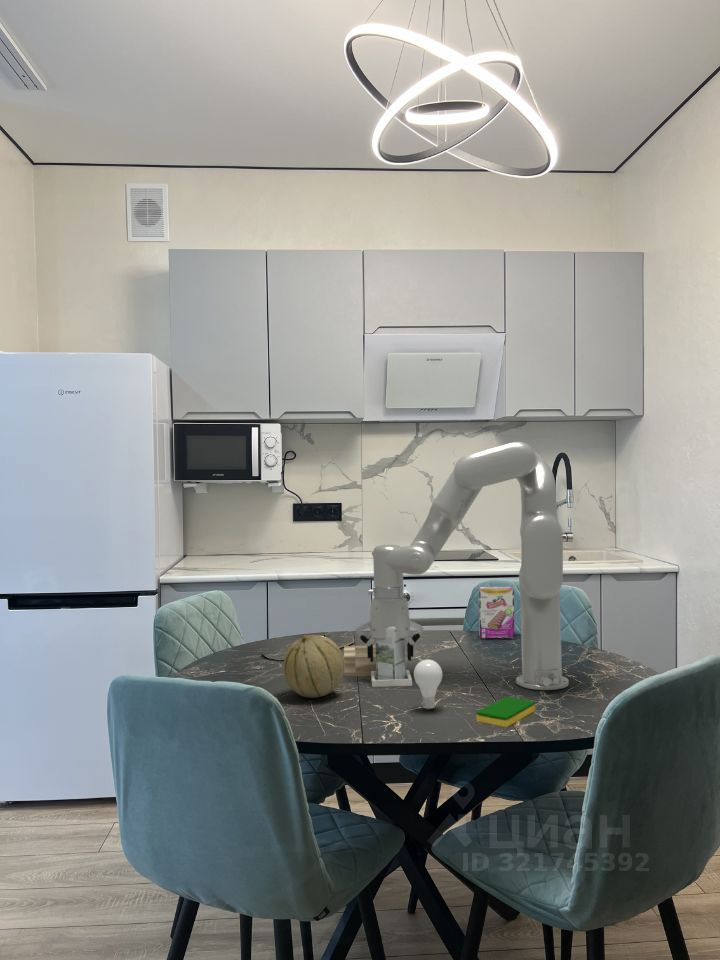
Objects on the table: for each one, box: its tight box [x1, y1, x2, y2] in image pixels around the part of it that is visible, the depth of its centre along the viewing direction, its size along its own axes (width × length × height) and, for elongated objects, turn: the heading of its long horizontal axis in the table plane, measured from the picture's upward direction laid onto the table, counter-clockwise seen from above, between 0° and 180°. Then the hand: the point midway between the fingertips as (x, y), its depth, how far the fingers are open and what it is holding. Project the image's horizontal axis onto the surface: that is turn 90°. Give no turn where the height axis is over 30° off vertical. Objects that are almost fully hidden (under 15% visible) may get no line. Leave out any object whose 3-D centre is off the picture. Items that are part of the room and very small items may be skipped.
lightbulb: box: [413, 659, 443, 711], centre depth 165 cm, size 6×6×11 cm
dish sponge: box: [476, 696, 536, 728], centre depth 159 cm, size 7×14×2 cm, turn 142°
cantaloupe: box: [282, 634, 345, 699], centre depth 177 cm, size 15×15×15 cm
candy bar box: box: [478, 586, 515, 639], centre depth 239 cm, size 11×5×16 cm, turn 84°
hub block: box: [343, 644, 376, 677], centre depth 203 cm, size 14×14×5 cm
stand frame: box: [370, 669, 413, 688], centre depth 190 cm, size 10×10×2 cm
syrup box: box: [374, 627, 407, 680], centre depth 190 cm, size 6×6×14 cm
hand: (390, 660), depth 190 cm, fingers open, 9 cm apart
